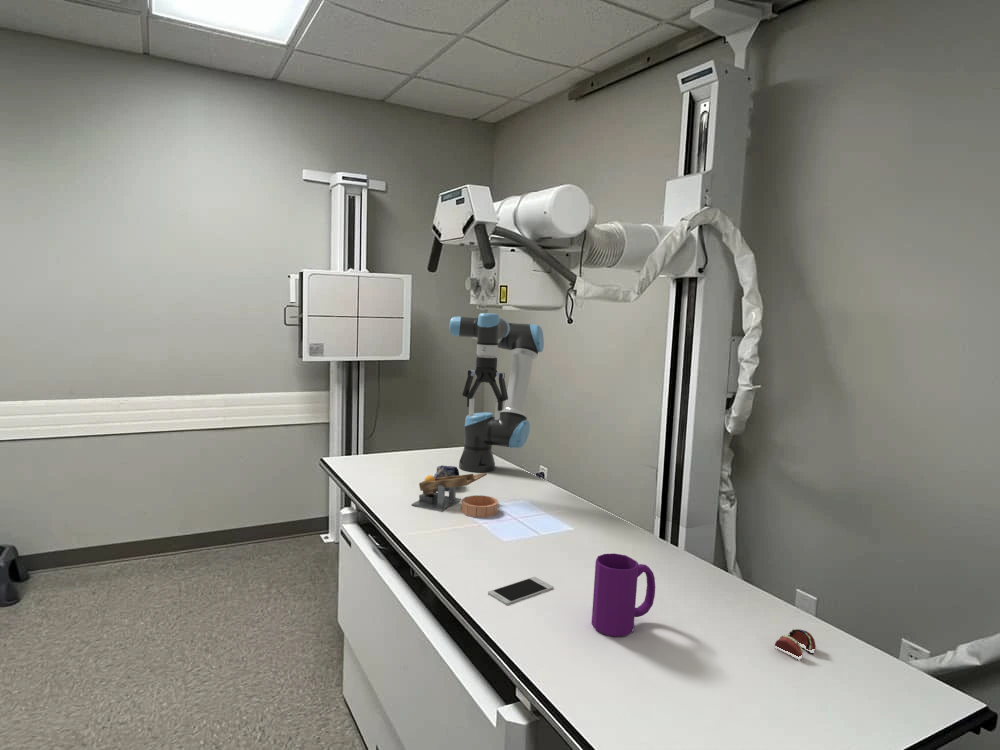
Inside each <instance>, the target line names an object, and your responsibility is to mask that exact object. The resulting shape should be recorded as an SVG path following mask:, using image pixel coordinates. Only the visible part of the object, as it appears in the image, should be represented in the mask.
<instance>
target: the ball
mask: <svg viewBox="0 0 1000 750" xmlns="http://www.w3.org/2000/svg"><path fill="white" fill-rule="evenodd" d="M424 481H425V482H431V481H435V478H434V475H432V474H429V475H426V476H425V478H424Z"/></svg>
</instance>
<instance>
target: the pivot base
mask: <svg viewBox="0 0 1000 750" xmlns="http://www.w3.org/2000/svg"><path fill="white" fill-rule="evenodd" d="M456 494H457V488H456V487H449V490H448V495H446V490H445V485H438V492H436V493H434V494H427V495H423V493H421V494H419V495H418V498H419V499H418V500H417V501H415V502H413V503H411V506H412V507H416V508H422V509H427V510H432V511H437V512H443V511H445V510H447V509H448V508H450V507H452V506H454V505H456V504H458V503H459V502H462V498H459V497H456Z"/></svg>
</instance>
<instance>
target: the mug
mask: <svg viewBox="0 0 1000 750" xmlns="http://www.w3.org/2000/svg"><path fill="white" fill-rule="evenodd" d="M594 567H595V569H594V582H593V583H594V584H593V596H592V610H591V625H592V626H593V628H594V630H595V631H597V632H599V633H600V634H603V635H605V636H608V635H609V637H614V638H617V637H619V636H620V637H626V636H628V635H629V634H631V633H633V632H634V627H635V618H639V617H643V616H644V615H646V614H647V613H649V611H650V610H651V608H652V607H653V604H654V600H655V597H656V596H655V595H656V577H655V575H654V572H653V571H652V569H651V568H650V567H649V566H648V565H647V564H643V563H639V562H638V561H637V560H635V559H633V558H632V557H630V556H628V555H626V554H620V553H603V554H600V555H598V556H597V557H596V559H595V565H594ZM643 573H644V574H645V576H646V591H645V596H644V601H643V602H642V603H641V604H640V605H639V606H638V607H636V601H637V600H636V599H637V591H638V590H637V588H638V578H639V577H640V576H641V575H642V574H643ZM620 637H619V638H620Z"/></svg>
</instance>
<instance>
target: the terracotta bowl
mask: <svg viewBox="0 0 1000 750" xmlns="http://www.w3.org/2000/svg"><path fill="white" fill-rule="evenodd" d="M460 508H461V513H462V514H464V515H465V516H469V517H473V518H490V517H494V516H495V515H496V516H497V514H499V501H498V499H497V498H495V497H493V496H487V495H469V496H465V497H463V498H461V506H460Z"/></svg>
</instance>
